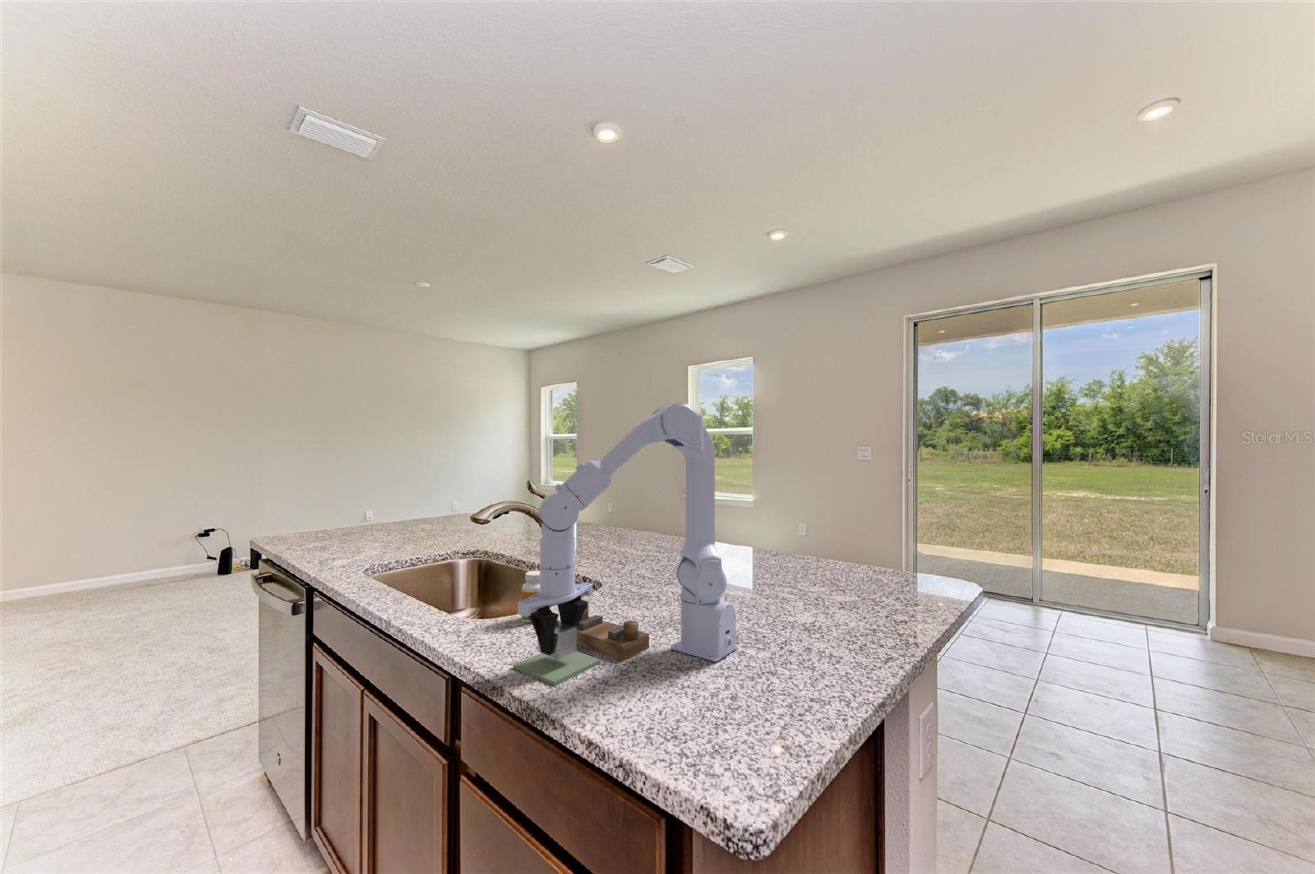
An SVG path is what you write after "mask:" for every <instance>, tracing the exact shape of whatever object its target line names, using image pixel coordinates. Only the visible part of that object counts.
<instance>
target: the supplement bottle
mask: <svg viewBox="0 0 1315 874" xmlns="http://www.w3.org/2000/svg"><path fill="white" fill-rule="evenodd" d="M524 578H525V579H524V580H525V581H526V582H525V583H523V584H522V586H521V601H523V600H525V599H527V598H529V597H531V596H533V595H535V594H537V593H538V590H539V589H540V570H530V571H527V572H525V577H524ZM521 620H522V622H524V623H526V622H530V623H529V624H532V623H531V621H530V619H529V618H528V616H527V617H525V616H521Z"/></svg>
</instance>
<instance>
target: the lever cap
mask: <svg viewBox="0 0 1315 874" xmlns="http://www.w3.org/2000/svg"><path fill="white" fill-rule="evenodd" d="M577 647H578V645H577V627H575V626H572V625H569V624H565V623H562V622H561V621H560V620H559V619H557V622H556V626H555V631H554V646H553V652H552V654H551V655H548V656H550V657H553V658H556V659H560V658H563V657H565V656H567V655H569V654H572V653H574V652H576V651H577ZM577 652H578V651H577ZM537 653H539V654H540V653H541V650H540V645H539V641H538V640H537ZM542 654H544V653H542ZM545 655H547V654H545Z"/></svg>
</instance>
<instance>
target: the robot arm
mask: <svg viewBox="0 0 1315 874" xmlns="http://www.w3.org/2000/svg"><path fill="white" fill-rule="evenodd" d="M658 442H664V443H667V444H670V445H671V446H673V447H674V448H675V449H676V450H677V451H679V452H680V453H681V454H682V455H683V457H685V542H684V544H683V546H682V549H681V551H680V554H681V556H680V561H679V563H678V565H677V567H676V571H675V575H676V579H677V582H678V583H679V585H680V586H681V588H682V590H681V592H680V640H679V641H677V642H676V643H674V644H672V645H670V649H671V650H673V651H676V652H681V653H683V654H687V655H691V656H694V657H697V658H702V659H705V660H707V661H710V662H711V661H712V662H716V663H717V662H718V661H720V660H722V659H723V658H725V657H726V656H727V655H729V654H730V653H732V652H733V651H735V650H736V649H738V648H739V645H738V644H737V641H736V639H737V637H736V636H737V635H736V634H737V632H736V631H737V630H736V629H737V628H736V625H737V624H736V622H737V620H736V619H737V618H736V610H735V607H734V605H732V603H731V604H730V603H728V602H726V601H724V600H723V599H722V596H724V594H725V592H726V589H727V577H726V574H725V573H724V570H723V568H722V565H723V564H722V558H721V557H722V556H720V555H721V554H720V553H719V551H718V549H717V547H716V545H715V544H716V542H715V541H716V540H715V538H716V536H715V535H716V533H715V532H716V531H715V528H716V526H715V525H716V523H715V522H716V517H715V516H716V515H715V514H716V513H715V512H716V510H715V509H716V500H715V499H716V497H715V495H716V494H715V493H716V490H715V489H716V485H715V484H716V482H715V481H716V476H715V475H716V473H715V472H716V466H715V464H716V458H715V457H716V450H715V449H716V448H715V444H714V442H713V439H712V438H711V436H710V434H709V432H708V430H707V428H706V427H705V424H704V422H703V415H702V414H701V413H699V412H698V411H697V410H696V409H695V408H694V407H693V406H691V405H690V404H688V403H686V402H675V403H673V404H670V405H666V406H660V407H658V408H656V409H655V410H653V412H652V413H651V414H649V415H647V416H646V417H643V419H641V420H640V421H639V422H637V423H636V424H635V425H634V426H633V427H632V428H631V429H630V430H629V431H627V433H626V434H625V435H624V436H623V437H622V438H621V439H620V440H619V441H617V443H616V444H614V445H613V447H612V448H610V449H609V451H607V453H605V455H603V456H602V457H601V458H600V459H599V460H587V461H586V462H585V463H582V462H580V463H578V464H577V465H576V466H575V469H576V471H575V472H574V473H572V474H571V475H570V476H569V477H568V478H567V479H565V481H564V482H563V483H561V484H560V483H557V484H556V485H555V486H554V487H553V488H554V489H555V490H556V492H552V493H549V494H547V495H546V496H545V497H544V498H543V499H542V500H541V502H540V505H539V508H538V509H537V510H538V516H539V518H540V519H541V521H542V522H541V527H540V535H541V537H540V539H539V571H540V589H539V590H538V593H537V594H535V595H533V596H531V597H529V598H527V599H525V600H523V601H522V600H520V601H518V602H517V615H519V616H521V617H522V616H525V617H527V616H528V618H529V619H530V621H531V623H530V624H531V625H532V627H533V629H534V632H535V633H536V634H535V635H536V637H537V642H538V641H539V645H540V650H541V653H544V654H547V655H551V654H552V652H553V646H554V631H555V626H556V622H557V620H559V619H560V620H559V622H562V623H565V624H569V625H572V626H575V627H577V628H578V624H579V622H580V619H581V617H582V615H583V613H584V611H585V609H586V608H587V600H585V599H582V598H583V597H590V596H593V583H589V582H586V581H585V582H581V583H576V537H575V524H576V522H577V521H578V518H579V512H582V511H585V509H587V508H588V507H589V506H590V505H591V504H592V503H593V502H594V501H595V500H596V499H598V498H599V496H601V495H602V494H603V493H604V492H605V491H606V490H607V489H609V487H611V485H612V476H613V474H614V473H615V472H616V471H617V470H619V469H620V468H621V467H622V466H623V465H625V463H627V462H628V461H629V460H630V459H631V458H633V456H635V455H636V454H637V453H639V451H641V450H642V449H643V448H645V447H646V446H647V445H650V444H655V443H658ZM555 606H557V611H558V613H556V612H553V610H552V609H551V608H552V607H555ZM558 618H559V619H558Z"/></svg>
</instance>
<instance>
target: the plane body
mask: <svg viewBox="0 0 1315 874" xmlns="http://www.w3.org/2000/svg"><path fill="white" fill-rule="evenodd" d="M586 601H587V600H586ZM577 647H580V648H581V647H582V648H584V649H588V650H589V651H593V652H596V653H599V654H602V655H604V656H607V657H611V658H614V659H616V660H620V661H623V662H624V661H626V660H628V659H630V658H632V657H633V656H636V655H638V654H640V653H641V652H644V651H646V650H647V649H650V633H648V632H644V631H641V630H639V622H638V621H636V620H626V621H624V622H623V624H622V625H621V624H620V625H619V624H616V623H612V622H609V621H606V620H604V617H603V616H602V615H598V614H596V615H593V616H589V601H587V608H586V609H585V611H584V613H583V615H582V617H581V619H580V622H579V624H578V628H577Z"/></svg>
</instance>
